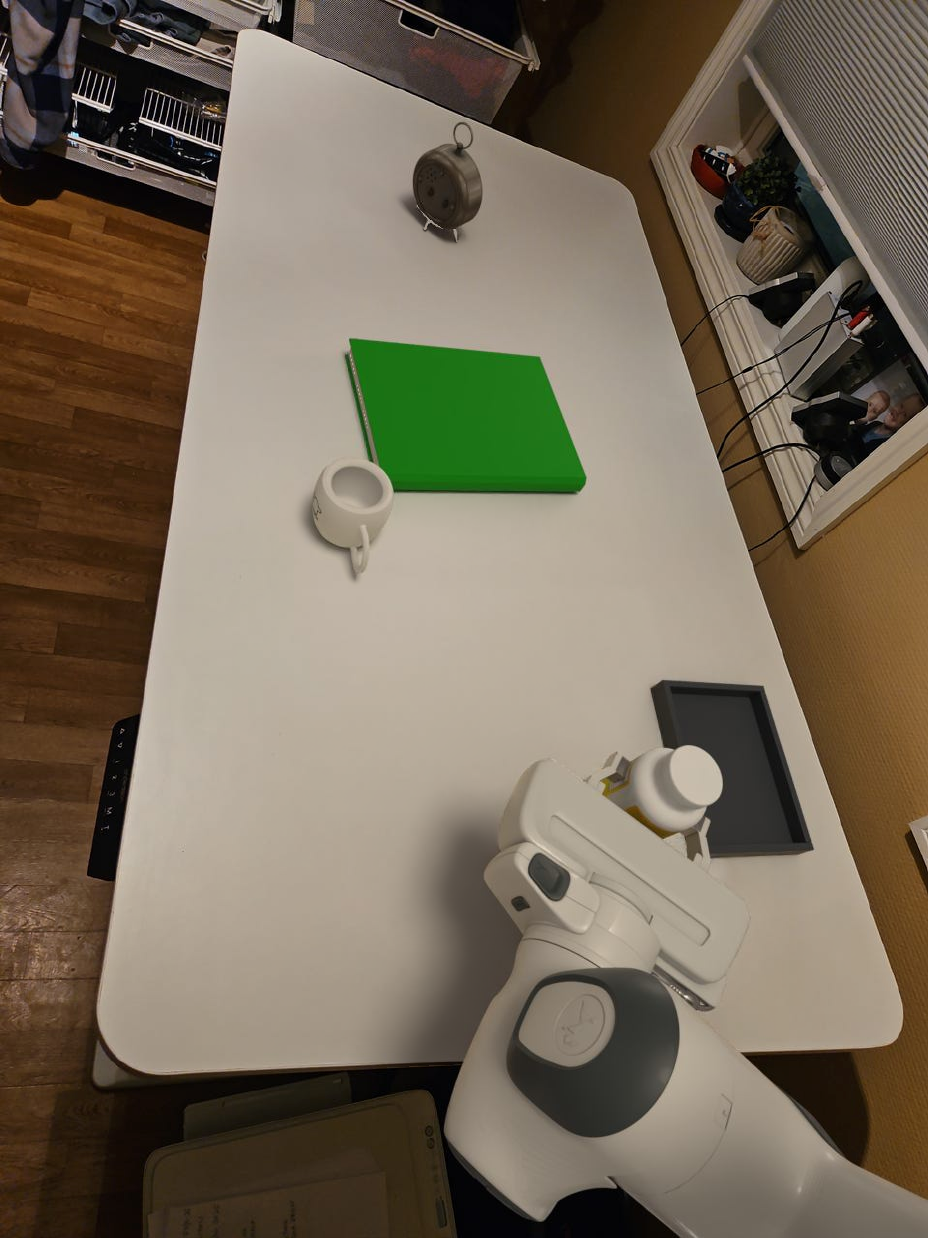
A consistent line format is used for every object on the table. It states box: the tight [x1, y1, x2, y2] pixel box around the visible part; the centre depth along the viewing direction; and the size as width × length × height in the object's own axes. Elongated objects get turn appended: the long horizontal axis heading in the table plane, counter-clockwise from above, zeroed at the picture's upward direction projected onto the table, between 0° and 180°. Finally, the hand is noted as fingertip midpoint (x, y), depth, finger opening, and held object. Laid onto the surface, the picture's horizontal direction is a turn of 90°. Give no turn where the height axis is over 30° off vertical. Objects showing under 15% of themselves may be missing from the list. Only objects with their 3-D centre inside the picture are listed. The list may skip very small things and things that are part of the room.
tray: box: [650, 679, 815, 859], centre depth 82 cm, size 20×15×3 cm
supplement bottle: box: [600, 745, 723, 840], centre depth 59 cm, size 7×7×13 cm
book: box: [344, 337, 588, 493], centre depth 95 cm, size 22×28×3 cm
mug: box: [311, 456, 395, 574], centre depth 78 cm, size 12×8×8 cm
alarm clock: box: [412, 121, 484, 231], centre depth 109 cm, size 11×5×16 cm, turn 51°
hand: (658, 786), depth 59 cm, fingers closed on supplement bottle, 6 cm apart
